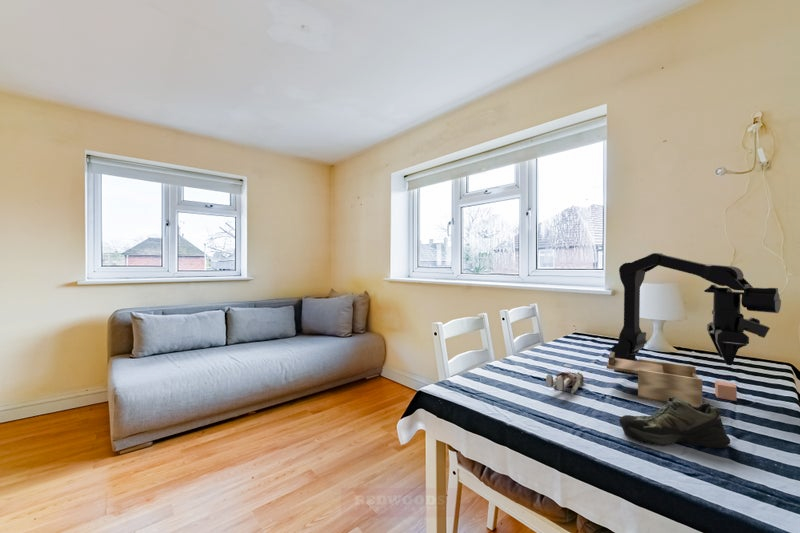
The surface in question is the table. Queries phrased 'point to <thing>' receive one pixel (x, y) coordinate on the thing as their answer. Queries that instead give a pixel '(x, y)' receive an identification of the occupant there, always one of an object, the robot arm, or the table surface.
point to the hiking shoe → (678, 425)
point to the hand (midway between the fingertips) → (725, 361)
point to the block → (726, 390)
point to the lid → (631, 365)
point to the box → (670, 383)
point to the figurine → (565, 381)
